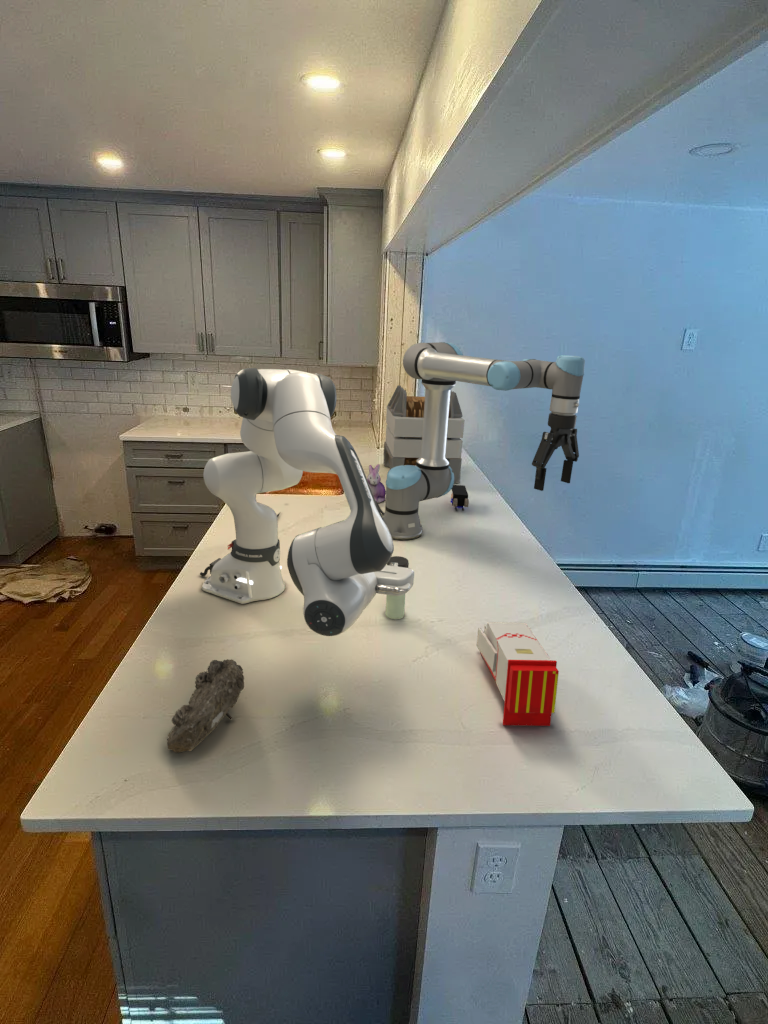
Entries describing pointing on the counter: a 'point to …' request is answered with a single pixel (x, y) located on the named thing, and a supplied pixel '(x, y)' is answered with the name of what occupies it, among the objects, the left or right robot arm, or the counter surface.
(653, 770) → the counter surface
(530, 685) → the toy
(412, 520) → the right robot arm
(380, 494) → the figurine
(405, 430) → the grey slatted crate
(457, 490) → the figurine character
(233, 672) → the fossil
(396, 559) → the lid
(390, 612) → the jar
